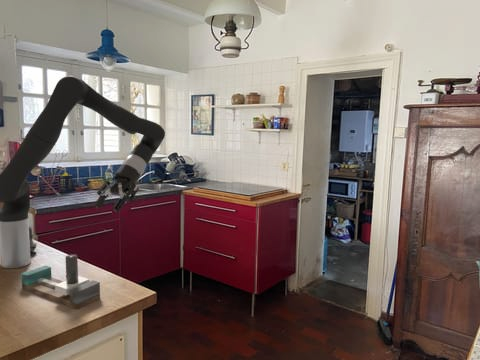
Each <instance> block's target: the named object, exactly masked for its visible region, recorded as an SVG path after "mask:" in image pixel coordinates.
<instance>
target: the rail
mask: <svg viewBox="0 0 480 360" xmlns="http://www.w3.org/2000/svg"><path fill="white" fill-rule="evenodd" d="M20 275H21V276H20V277H21V288H22V289H23V290H25V291H27V292H30V293H32V294H36V295H38V296H40V297H43V298H46V299H49V300H51V301H55V302H57V303H60V304H62V305H65V306H68V307H70V308H73V309H76V310H78V309H80V308H83V307H85V306H88V305H89V304H91V303H93V302H95V301H97V300H99V299H101V288H100V287H101V285H100V281H97V280H89V282H87V283H85V284H83V285H80V286H78V287H76V288H73V289H71V290H69V291H70V294H69V295H64V294H61V293H58V292H55V285H56V284H59V283H61V282H64V281H65V280H64V281H63V280H61V279H57V278H54V277H52V267H51V266H48V265H42V266H39V267H37V268H34V269H30V270H28V271H25V272H22V273H21V274H20Z"/></svg>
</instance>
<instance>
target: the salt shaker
mask: <svg viewBox="0 0 480 360" xmlns="http://www.w3.org/2000/svg"><path fill="white" fill-rule="evenodd" d="M33 237H34V235H33V230H32V227H30V226H29V240H30V257H31V256H35V255H36V254H37V252H36V251H35V250H36V248H37V243H36V242H35V243H34V241H33Z"/></svg>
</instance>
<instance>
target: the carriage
mask: <svg viewBox="0 0 480 360" xmlns="http://www.w3.org/2000/svg"><path fill="white" fill-rule="evenodd" d="M64 258H65V276H66V277H65V278H66V280H64V282H61V283H59V284H56V285H55V292H58V293H61V294H64V295H69V294H70V291H69V290H71V289H73V288H76V287H78V286H80V285H83V284H85V283H87V282H90V279H89V278H87V277H83V276H80V275H79V266H78V265H79V264H78V255H77V254H68V255H66V256H65V257H64Z"/></svg>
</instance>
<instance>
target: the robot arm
mask: <svg viewBox="0 0 480 360" xmlns="http://www.w3.org/2000/svg"><path fill="white" fill-rule="evenodd" d="M77 104H78V105H80V106H83V107H84V108H85V107H86V108H88V109H90V110H92V111H94V112H96V113H97V114H99V115H101V116H102V117H103V118H104V119H105V120H107V121H108V122H109V123H111V124H112V125H113V126H115V127H117V128H119V129H121V130H123V132H125V133H127V134H130V135H136V134H140V135H142V137H141V139H140V141H139V142H138V144H136V145H135V146H134V148H133V149H132V150H131V152H130V153H129V155H128V156H127V157H126V158H125V159H124V160H123V162H122V163H121V165H120V167H118V169H117V171H116V172H115V173H114V180H112V181H110V180H109V179H106V180H105V181H104V182H103V183H102V185H101V187H100V188H98V190H97V192H96V195H98V196H99V197H98V198H97V200H96V201H95V203H94V207H95V208H96V209H99V210H100V209H101V208H102V207H103V205H104V203H105V202H106V200H107V199H109V198H112V197H114V196H118V197H119V198H118V199H117V200H116V202H115V203H114V205H113V207H112V209H113V210H114V212H116V213H119V211H120V210H121V209H122V208H123V206H124V204H126V203H127V202H129V203H131V202H133V200H134V198H135V197H136V195H137V193H138V191H139V189H140V188H139V186H138V185H137V183H138V182H139V180H140V178H141V176H142V175H143V174H144V172H145V170H146V167H147V166H148V164H149V162H150V161H151V160H152V157H153V155H154V154H155V153H156V152H157V150H158V149H159V147H160V146H161V144H162V143H163V140H164V139H165V137H166V131H165V130H164V128H163V127H162V126H161V125H160V124H159V123H157V122H155V121H153V120H149V119H147V118H142V117H139V116H138V115H136V114H134V113H132V112H131V111H130V110H128V109H126V108H124V107H122V106H121V105H118V104H117V103H115V102H113V101H112V100H110V99H108V98H106V97H105V96H103V95H101V94H100V93H99V92H97V91H96V90H95V89H94V88H93V87H91V86H90V85H89V84H88V83H87V82H86V81H85V80H83V79H82V78H80V77H77V76H75V75H66V76H63V77H61V78H60V79H59V80H58V81H57V83H56V85H55V86H54V89H53V91H52V93H51V95H50V98H49V100H48V102H47V103H46V105H45V107H44V109H43V110H42V111H41V112H40V113H39V115H38V117H36V120H35V121H34V123H33V124H32V125H31V127H30V128H29V130H28V131H27V133H26V135H25V136H24V138H23V140H22V141H21V143H20V144H19V146H18V148H17V150H16V151H15V153H14V155H13V156H12V158H11V159H10V161H9V163H8V164H7V165H6V166H5V168H4V169H3V170H2V172H0V203H3V205H2V208H1V209H0V265H1V268H4V269H16V268H17V269H18V268H23V267H25V266H27V265H29V264H31V262H32V260H31V256H30V240H29V227H30V226H29V211H30V209H31V208H30V207H31V189H30V184H29V181H28V179H27V178H28V176H29V174H30V173H31V172H32V171H33V170H34V169H35V168H36V167H38V166H39V165H40V164H41V163H42V162H43V161H44V160H45V159H46V158H47V157H48V155H49V154H50V153H51V152H52V150H53V148H54V146H56V143H57V142H58V140H59V138H60V136H61V134H62V131H63V130H62V129H63V126H64V123H65V120H66V119H67V118H68V115H69V114H70V113H71V111H72V110H73V109H74V107H75V106H77Z"/></svg>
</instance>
